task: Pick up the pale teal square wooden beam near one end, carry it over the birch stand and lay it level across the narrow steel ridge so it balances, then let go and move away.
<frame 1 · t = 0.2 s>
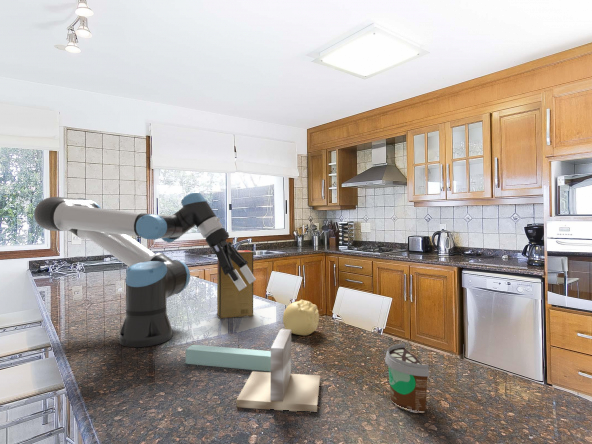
hand: (248, 285, 117), 15 cm above the countertop, tool tilted 35°, fingers open, 13 cm apart
sculpture: (301, 333, 116), on the countertop
food packaging: (234, 315, 137), on the countertop
beam: (235, 366, 90), on the countertop
food container: (400, 402, 72), on the countertop
balance stand: (281, 393, 75), on the countertop
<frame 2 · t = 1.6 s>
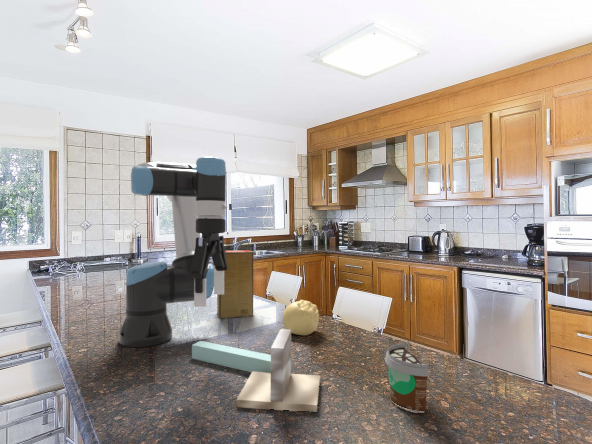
hand: (210, 299, 90), 17 cm above the countertop, tool pointing down, fingers open, 13 cm apart
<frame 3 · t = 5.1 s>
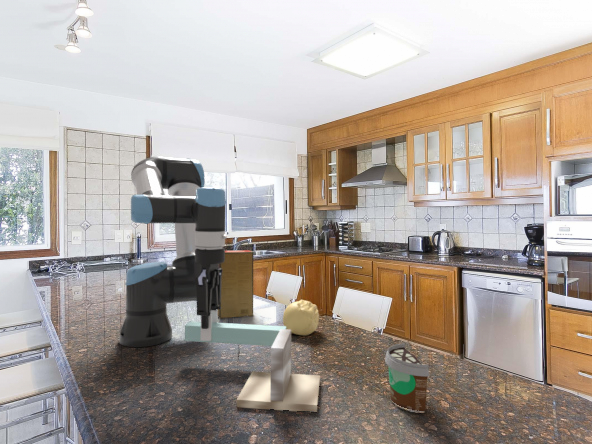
hand: (209, 337, 91), 7 cm above the countertop, tool pointing down, fingers closed on beam, 3 cm apart
beam: (235, 341, 90), point 6 cm above the countertop, touching gripper
everything else where it was.
when the fingers open (11 cm above the countertop, at t = 8.6 s): beam stays where it is, resting on balance stand.
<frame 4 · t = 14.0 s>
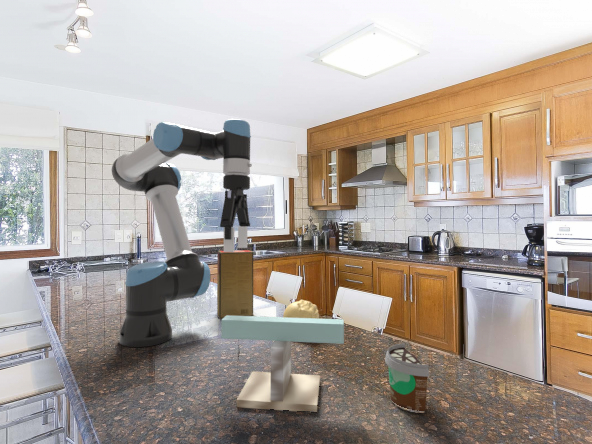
hand: (236, 249, 100), 29 cm above the countertop, tool pointing down, fingers open, 13 cm apart
beam: (282, 338, 75), point 12 cm above the countertop, touching balance stand
everything else where it was.
at the end: beam inside the target area on the balance stand (0.2 cm from its centre), point 12.0 cm above the balance stand's base; beam tilted 0°; the gripper is holding nothing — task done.
